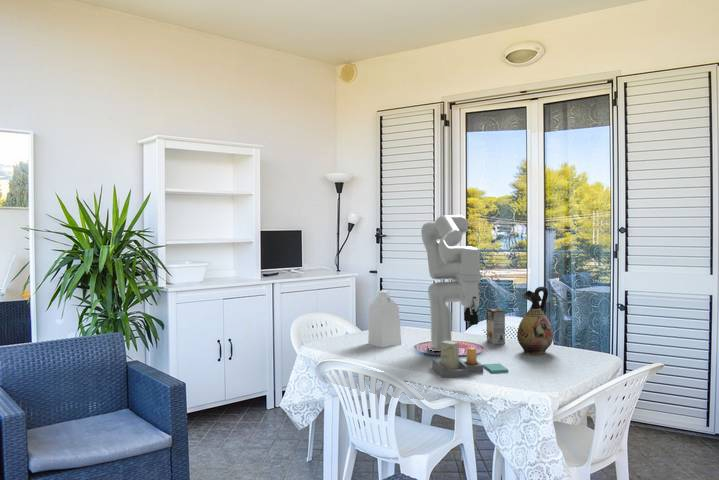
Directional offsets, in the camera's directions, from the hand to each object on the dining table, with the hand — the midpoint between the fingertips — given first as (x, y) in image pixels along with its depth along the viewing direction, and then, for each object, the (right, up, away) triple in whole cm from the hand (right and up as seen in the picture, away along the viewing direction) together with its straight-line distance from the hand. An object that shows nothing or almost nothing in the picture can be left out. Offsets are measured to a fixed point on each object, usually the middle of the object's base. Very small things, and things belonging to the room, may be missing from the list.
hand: (470, 322), depth 233 cm
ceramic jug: (+35, -18, +28) cm, 48 cm away
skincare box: (-8, -20, 0) cm, 22 cm away
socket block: (-5, -20, 0) cm, 20 cm away
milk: (-32, -18, +53) cm, 65 cm away
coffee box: (+22, -17, +52) cm, 59 cm away
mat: (+10, -19, +2) cm, 22 cm away
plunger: (0, -17, +1) cm, 17 cm away
